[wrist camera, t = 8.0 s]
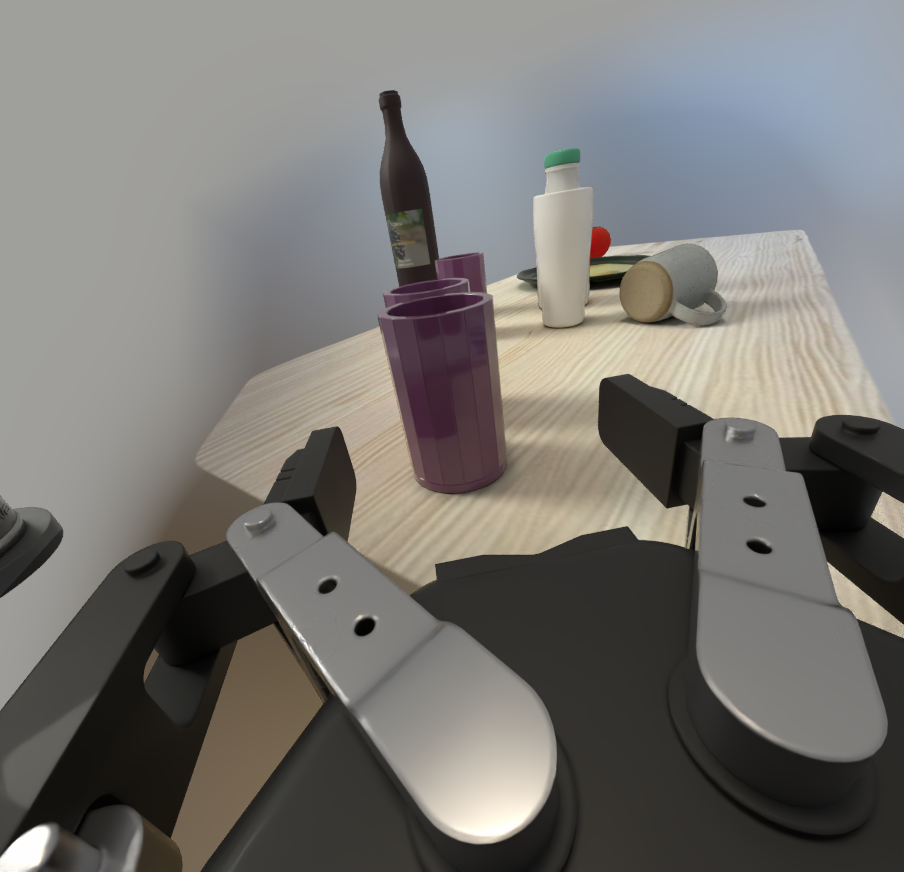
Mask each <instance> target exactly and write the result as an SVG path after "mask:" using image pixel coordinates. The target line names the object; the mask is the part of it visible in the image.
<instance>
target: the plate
mask: <svg viewBox="0 0 904 872" xmlns="http://www.w3.org/2000/svg"><path fill="white" fill-rule="evenodd" d="M647 257H650V256H646V255H636V256H610V257H598V258H590V282H598V281H605V280H612V279H618V278H623V277H624V275H625V274H626V272H627V271H628V270H629V269H630V268H631V267H632V266H633V265H635V264H636V263H638V262H639V261H641V260H643V259H645V258H647ZM517 278H518V279H520V280H523V281H525V282H528V283H532V284H537V267H536V268H532V269H528V270H524V271H521V272H520V273H519V274H518V275H517Z"/></svg>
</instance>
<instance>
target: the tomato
mask: <svg viewBox="0 0 904 872" xmlns="http://www.w3.org/2000/svg"><path fill="white" fill-rule="evenodd" d="M610 241H611V238H610V234H609V233H608V231H607V230H606V229H604V228H602V227H593V228H592V239H591V249H590V258H598V257H602V256H603V255H604V254H605V253H606V252H607V250H608V249H609V246H610Z"/></svg>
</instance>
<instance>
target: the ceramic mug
mask: <svg viewBox="0 0 904 872" xmlns="http://www.w3.org/2000/svg"><path fill="white" fill-rule="evenodd" d="M717 277H718V271H717V266H716V263H715V260H714V259H713V257H712V256H711V255H710V253H709V252H708V251H707V250H705V249H704V248H703V247H701V246H698V245H696V244H681V245H678V246H676V247H673V248H671V249H668V250H666V251H663V252H661V253H658V254H656V255H653V256H650V257H647V258H645V259H643V260H641V261H639V262H638V263H636V264H635V265H633V266H632V267H631V268H630V269H629V270H628V271H627V272H626V274H625V275H624V277H623V279H622V281H621V285H620V301H621V304H622V307H623V309H624V310H625V312H626V313H627V314H628V315H629V316H630V317H631V318H633V319H635V320H636V321H640V322H655V321H660V320H663V319H666V318H669V317H671V316H674V317H676V318H677V319H680V320H682V321H684V322H686V323H690V324H694V325H711V324H714V323H716V322H717V321H719V319H720V318H721V317H722V315H723V314H724V312H725V311H726V308H727V305H726V302H725V300H724V299H723V298H722V297H721V296H720V295H719V294H718V293H717V292H715V291H714V289H715V286H716V284H717ZM704 303H706V304H708V305H709V306H710V307H712V308H713V310H714V311H715V312H713V313H704V312H698V311H695V310H693V309H695V308H698V307H700V306H701V305H703V304H704Z"/></svg>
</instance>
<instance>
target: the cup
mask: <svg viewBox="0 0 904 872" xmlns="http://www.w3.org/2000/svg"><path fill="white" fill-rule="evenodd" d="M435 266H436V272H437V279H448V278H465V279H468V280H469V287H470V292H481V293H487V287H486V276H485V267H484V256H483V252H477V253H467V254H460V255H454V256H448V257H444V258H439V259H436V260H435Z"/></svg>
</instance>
